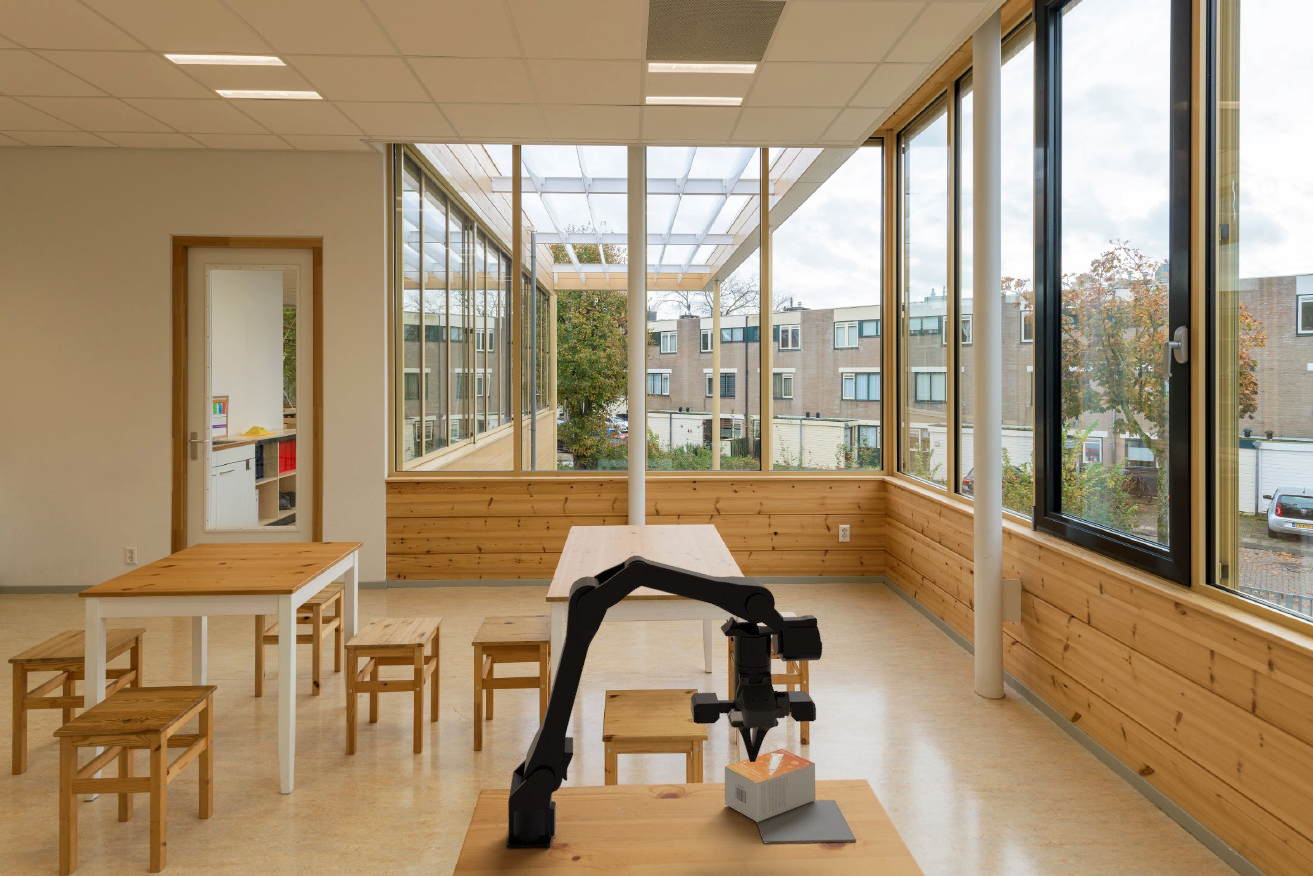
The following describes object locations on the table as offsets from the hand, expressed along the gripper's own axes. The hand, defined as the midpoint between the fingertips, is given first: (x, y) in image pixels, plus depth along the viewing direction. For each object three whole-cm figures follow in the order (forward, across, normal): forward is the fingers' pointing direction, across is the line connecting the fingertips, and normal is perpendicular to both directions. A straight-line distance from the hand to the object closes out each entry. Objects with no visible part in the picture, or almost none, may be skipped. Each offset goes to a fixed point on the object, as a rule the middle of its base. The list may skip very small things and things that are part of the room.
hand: (752, 761), depth 124 cm
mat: (+10, +8, +1) cm, 13 cm away
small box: (+7, -2, +3) cm, 7 cm away
